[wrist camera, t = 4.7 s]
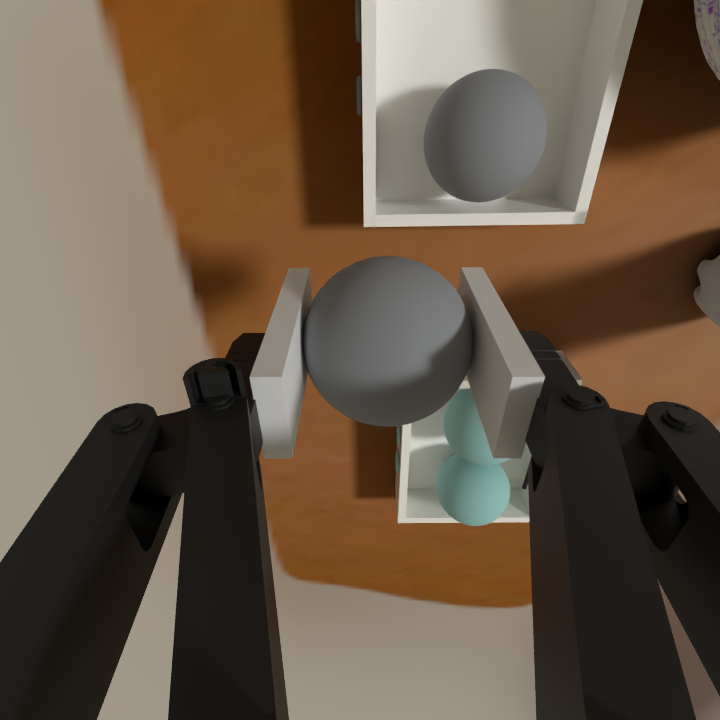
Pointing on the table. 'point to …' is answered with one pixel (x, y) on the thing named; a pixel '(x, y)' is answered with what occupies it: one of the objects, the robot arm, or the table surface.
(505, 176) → the charcoal ball
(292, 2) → the table surface
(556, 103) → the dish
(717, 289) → the bottle
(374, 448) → the table surface
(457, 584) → the table surface
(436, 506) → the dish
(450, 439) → the teal ball
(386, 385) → the charcoal ball
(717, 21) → the paper bowls
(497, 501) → the teal ball
